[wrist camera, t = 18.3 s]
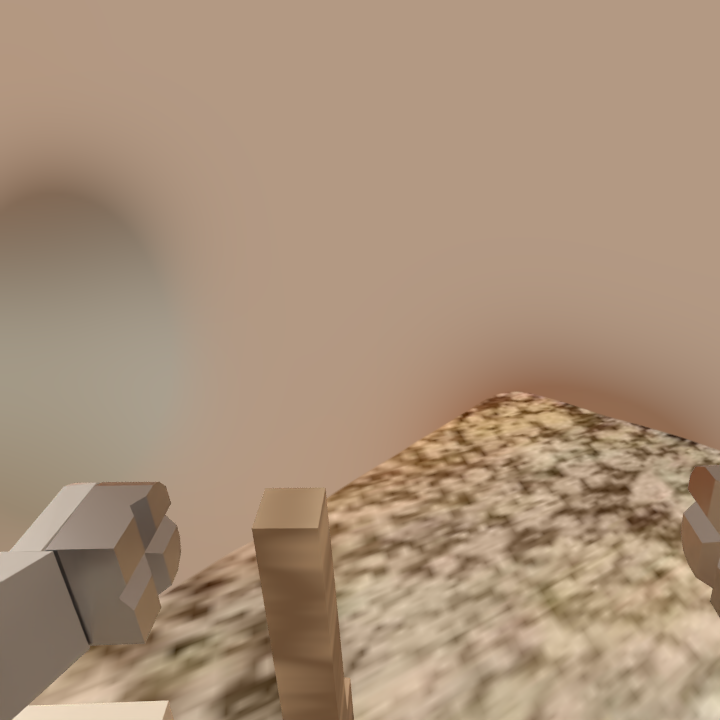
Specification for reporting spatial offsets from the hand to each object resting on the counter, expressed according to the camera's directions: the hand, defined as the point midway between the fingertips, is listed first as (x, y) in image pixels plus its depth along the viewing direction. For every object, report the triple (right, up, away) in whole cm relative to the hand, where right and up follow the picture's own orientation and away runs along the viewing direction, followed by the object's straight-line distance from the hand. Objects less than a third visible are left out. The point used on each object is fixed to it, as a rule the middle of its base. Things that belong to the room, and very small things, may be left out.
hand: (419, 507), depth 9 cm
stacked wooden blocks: (-3, -20, +20) cm, 28 cm away
